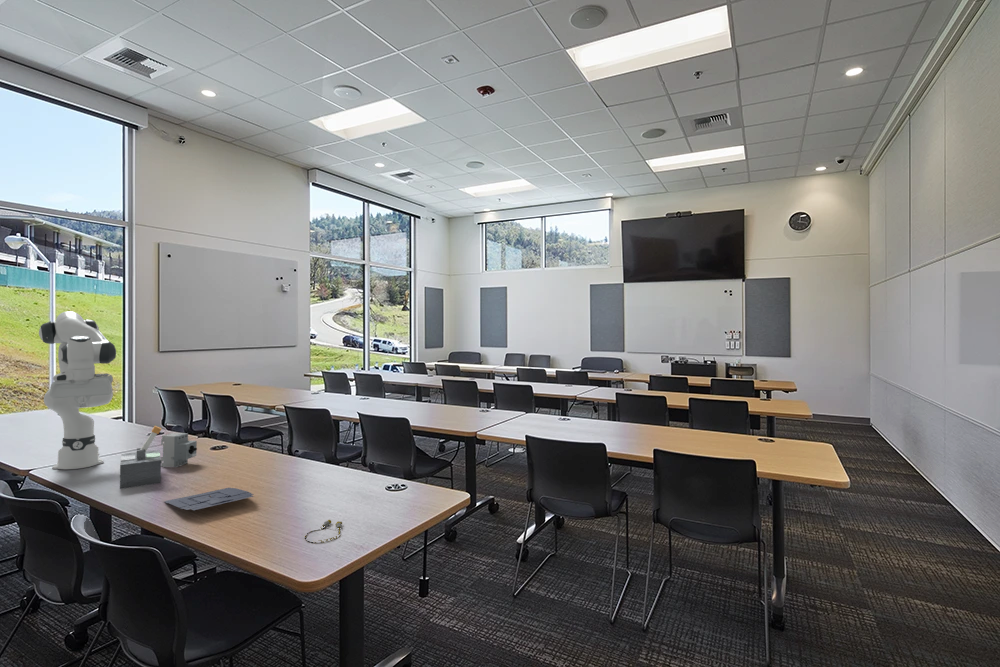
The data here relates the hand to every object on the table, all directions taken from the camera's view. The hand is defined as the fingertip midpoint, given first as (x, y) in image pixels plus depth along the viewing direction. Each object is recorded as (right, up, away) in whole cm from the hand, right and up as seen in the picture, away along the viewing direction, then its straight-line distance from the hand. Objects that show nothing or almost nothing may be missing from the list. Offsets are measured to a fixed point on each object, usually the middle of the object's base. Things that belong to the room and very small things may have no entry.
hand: (82, 406), depth 208 cm
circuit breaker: (+20, -34, +33) cm, 51 cm away
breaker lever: (+18, -23, +8) cm, 31 cm away
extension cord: (+120, -36, -45) cm, 133 cm away
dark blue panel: (+66, -35, -19) cm, 78 cm away
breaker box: (+18, -34, +9) cm, 39 cm away
